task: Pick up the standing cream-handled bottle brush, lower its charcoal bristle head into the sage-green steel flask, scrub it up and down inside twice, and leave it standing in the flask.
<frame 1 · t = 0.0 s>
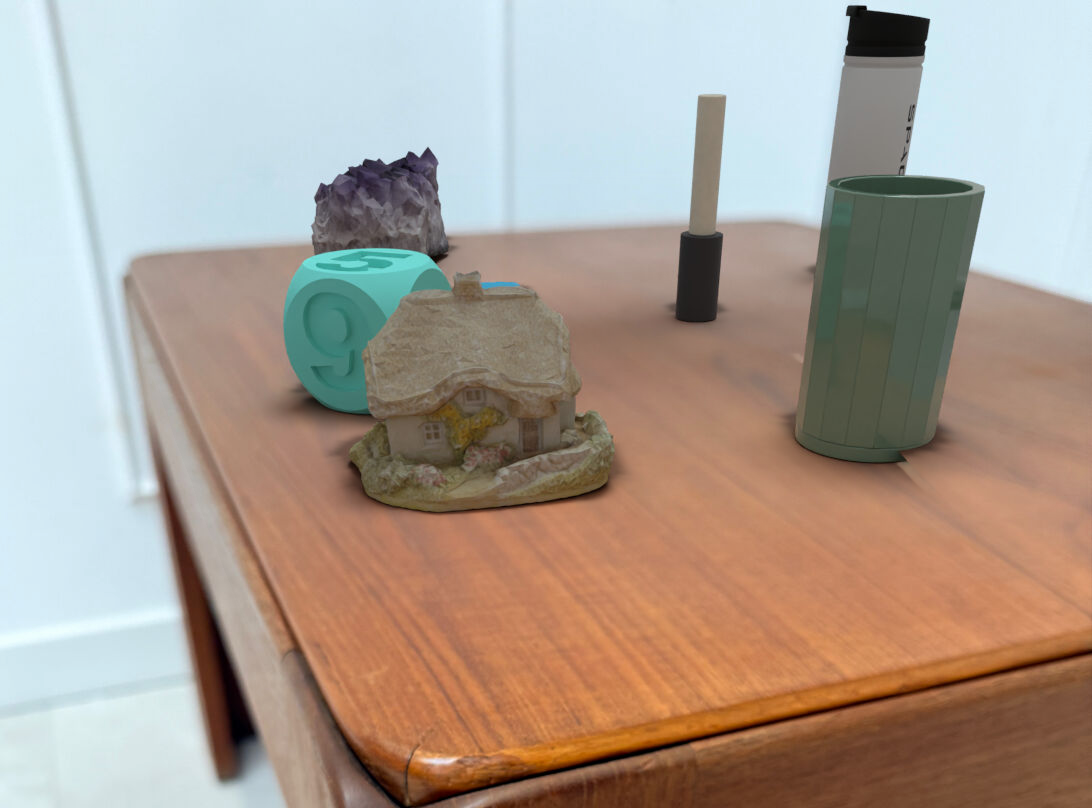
travel mug: (848, 281, 96), on the table
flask: (862, 439, 62), on the table
brush: (695, 316, 86), on the table
ceramic model: (478, 474, 59), on the table
geode: (389, 262, 105), on the table
sponge: (491, 315, 88), on the table
decorative dice: (378, 398, 70), on the table
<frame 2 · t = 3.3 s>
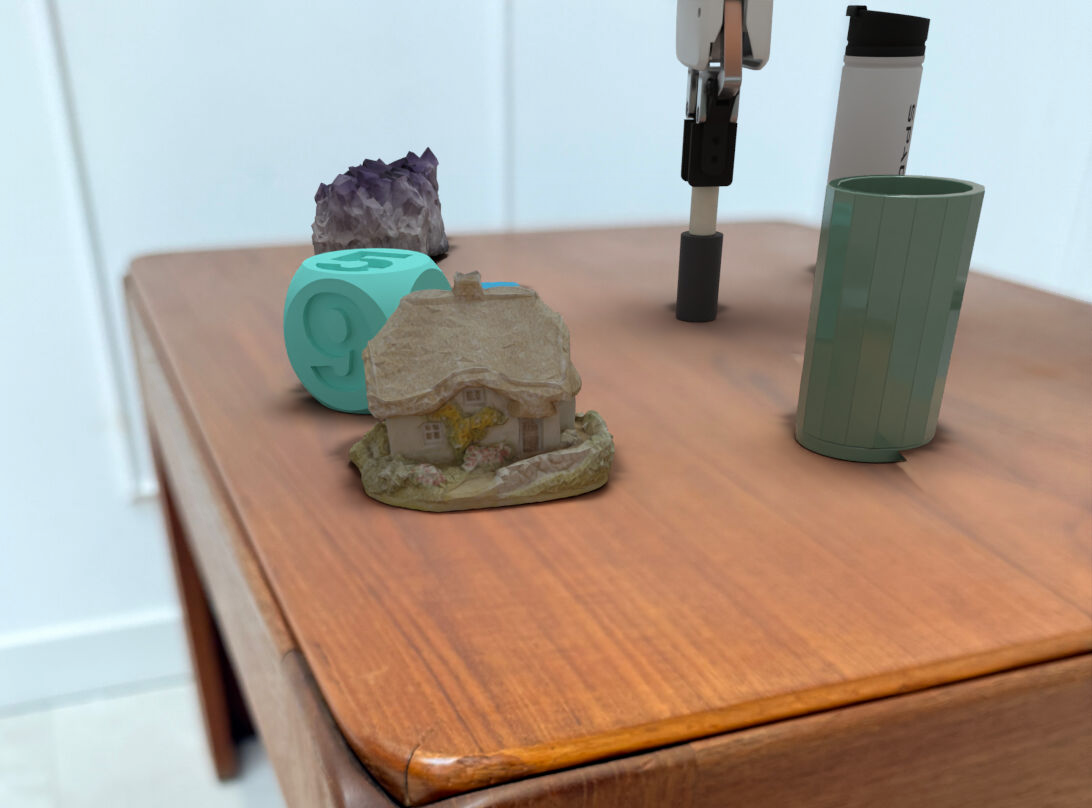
hand: (706, 181, 80), 10 cm above the table, tool pointing down, fingers closed on brush, 2 cm apart
brush: (695, 316, 86), on the table, touching gripper
everything else where it was.
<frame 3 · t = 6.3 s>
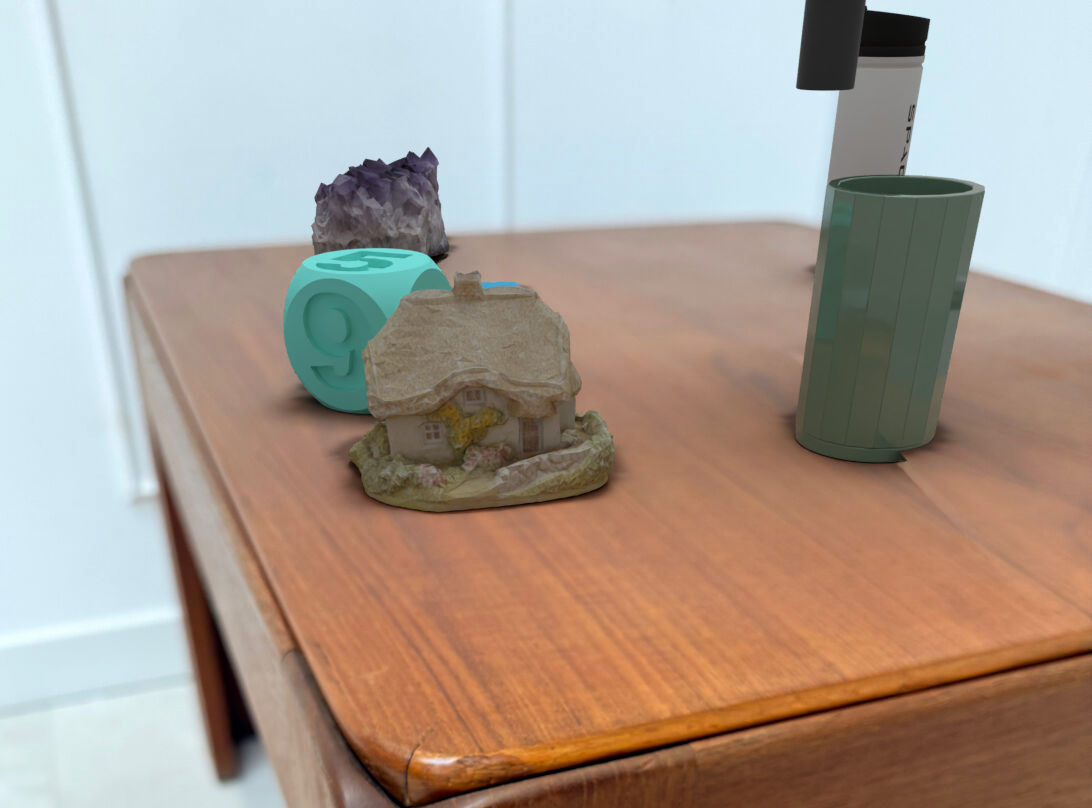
brush: (824, 88, 61), point 16 cm above the table, touching gripper
everything else where it was.
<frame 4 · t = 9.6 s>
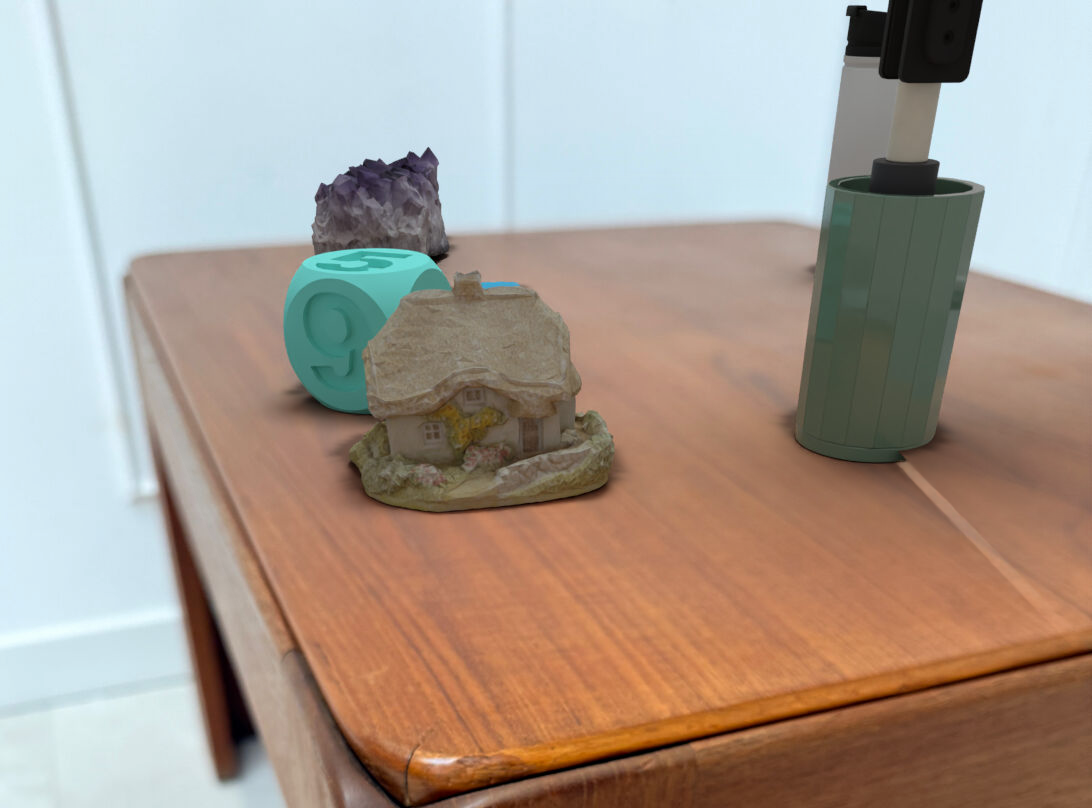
hand: (921, 77, 52), 18 cm above the table, tool pointing down, fingers closed on brush
brush: (884, 289, 58), point 8 cm above the table, touching gripper
everything else where it was.
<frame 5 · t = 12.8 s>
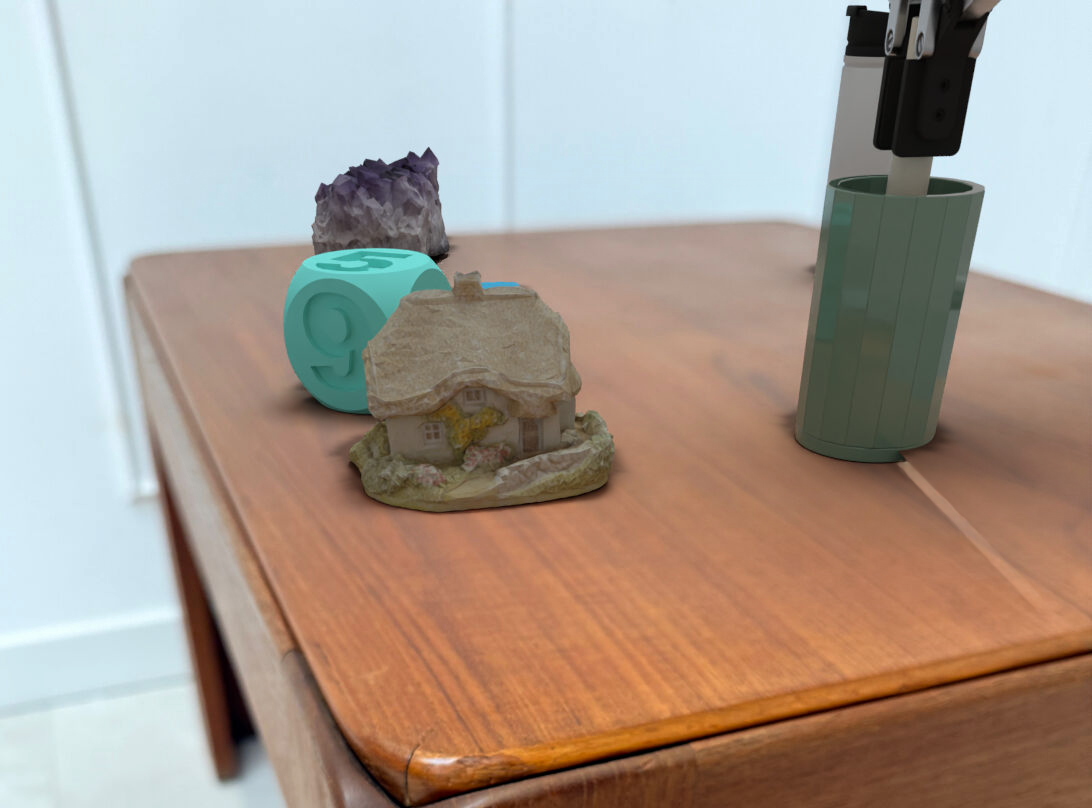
hand: (914, 149, 54), 15 cm above the table, tool pointing down, fingers closed on brush
brush: (880, 348, 59), point 5 cm above the table, touching gripper
everything else where it was.
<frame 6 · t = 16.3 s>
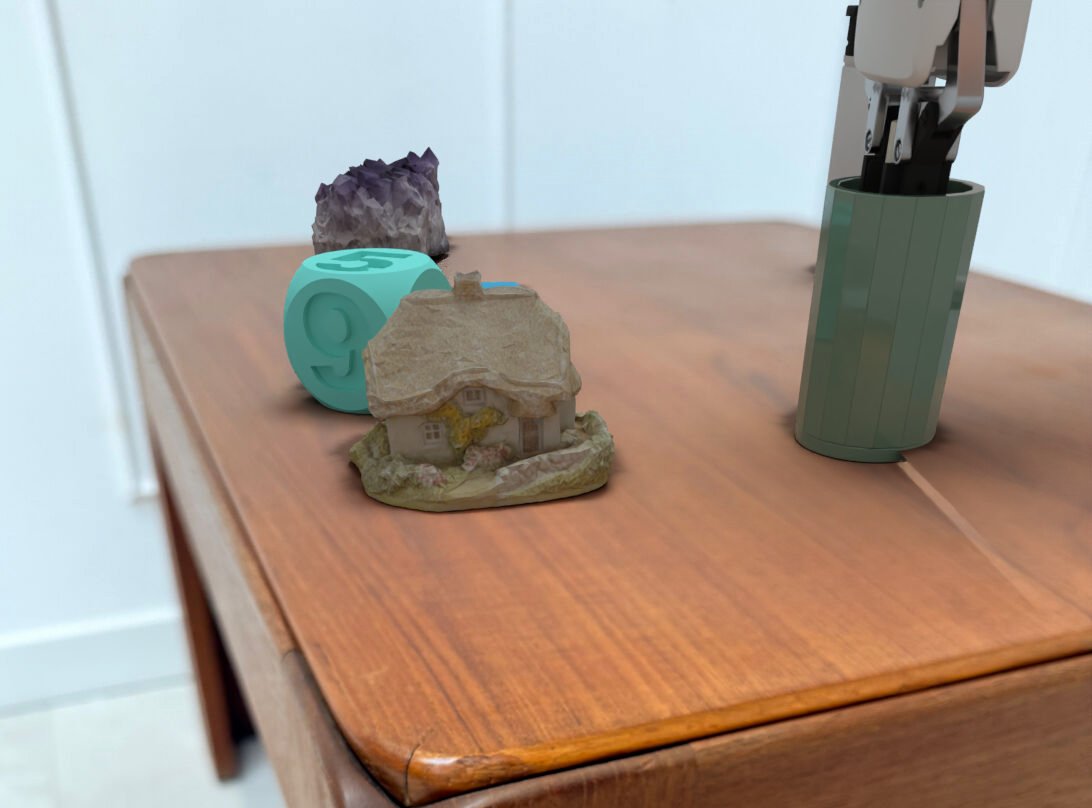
hand: (892, 243, 56), 10 cm above the table, tool pointing down, fingers closed on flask, 2 cm apart
brush: (862, 425, 62), point 1 cm above the table, touching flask
everything else where it was.
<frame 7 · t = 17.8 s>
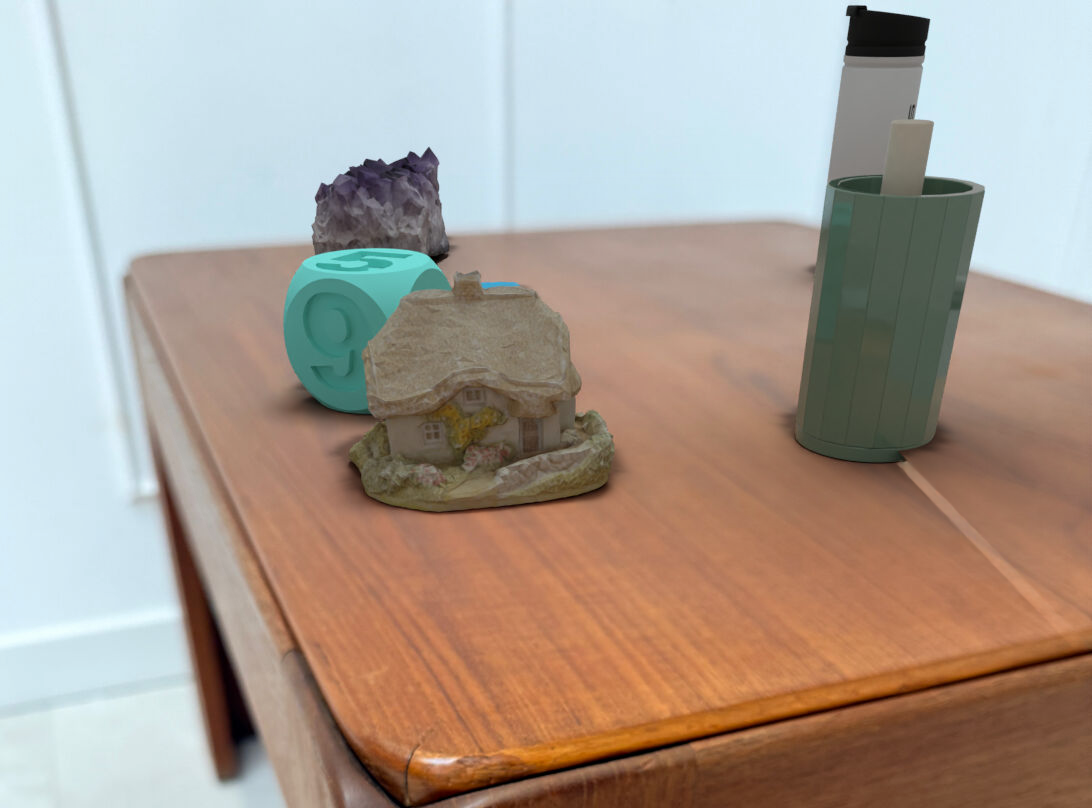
nothing on the table moved.
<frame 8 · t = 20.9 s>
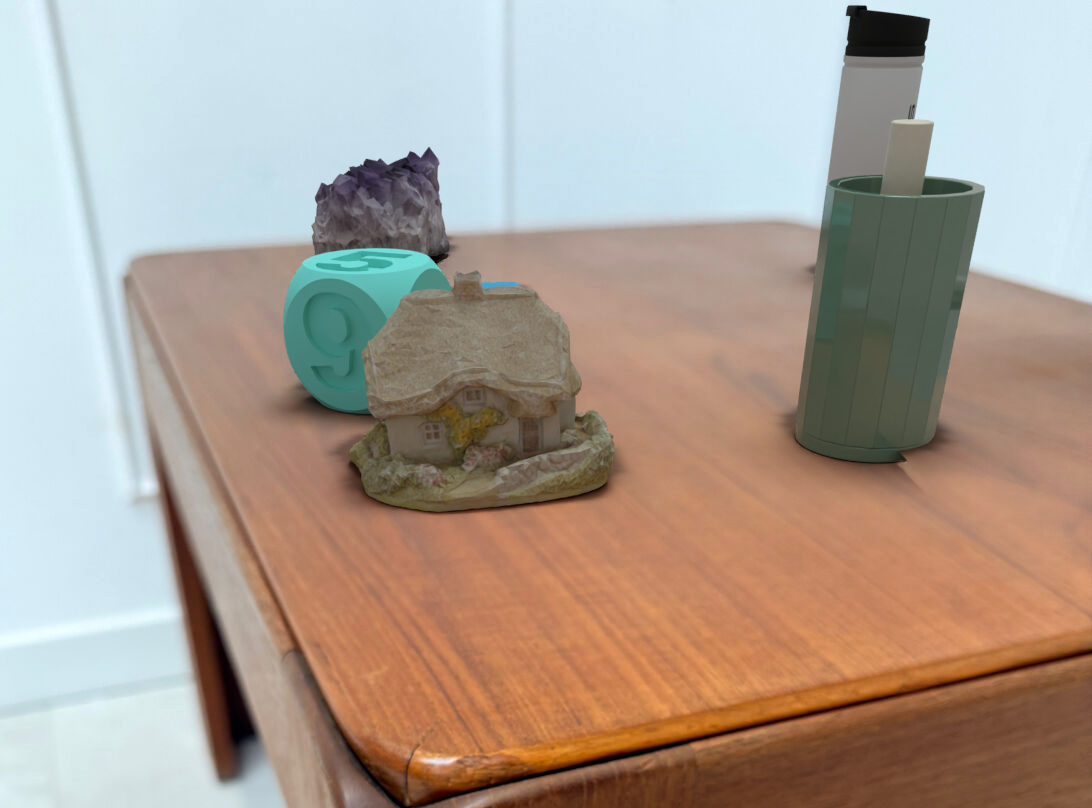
nothing on the table moved.
at the end: brush 0.2 cm off-centre in the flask, point 0.8 cm above the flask's base; brush tilted 0°; the gripper is holding nothing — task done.
